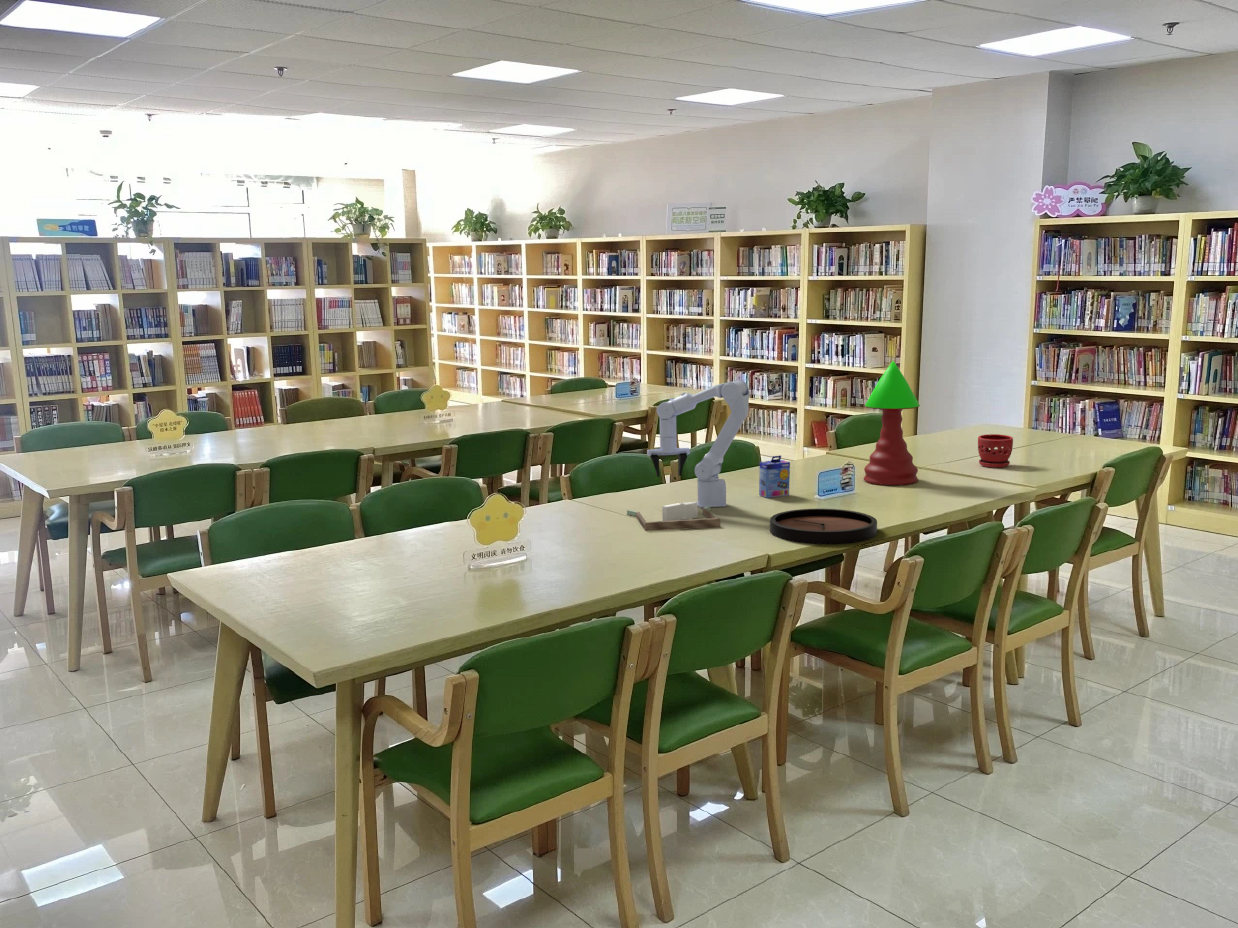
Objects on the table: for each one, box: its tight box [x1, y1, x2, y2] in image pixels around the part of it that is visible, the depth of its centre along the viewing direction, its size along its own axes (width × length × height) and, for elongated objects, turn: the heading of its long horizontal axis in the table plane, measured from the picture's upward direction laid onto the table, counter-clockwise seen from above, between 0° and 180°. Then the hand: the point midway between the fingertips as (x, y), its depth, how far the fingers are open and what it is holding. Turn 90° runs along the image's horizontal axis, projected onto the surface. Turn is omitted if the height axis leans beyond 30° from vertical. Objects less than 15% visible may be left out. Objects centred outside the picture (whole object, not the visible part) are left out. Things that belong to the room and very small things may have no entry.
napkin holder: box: [661, 501, 699, 521], centre depth 323 cm, size 15×11×6 cm
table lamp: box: [863, 360, 920, 486], centre depth 373 cm, size 20×20×45 cm
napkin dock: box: [626, 506, 721, 532], centre depth 321 cm, size 28×24×2 cm
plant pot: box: [977, 433, 1014, 469], centre depth 400 cm, size 13×13×12 cm
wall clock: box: [769, 508, 878, 546], centre depth 301 cm, size 31×4×31 cm
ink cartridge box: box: [758, 455, 791, 499], centre depth 354 cm, size 10×6×14 cm, turn 115°
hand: (668, 475), depth 347 cm, fingers open, 7 cm apart
